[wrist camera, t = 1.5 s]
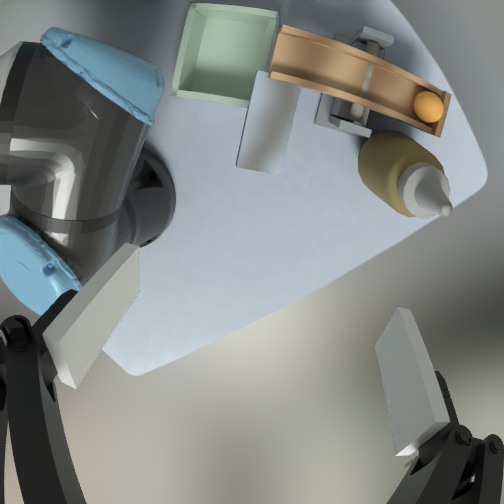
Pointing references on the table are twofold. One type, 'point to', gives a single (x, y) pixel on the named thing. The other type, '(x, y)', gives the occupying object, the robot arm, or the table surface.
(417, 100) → the ball
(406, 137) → the squeeze bottle
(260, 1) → the table surface
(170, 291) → the table surface
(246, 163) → the lever
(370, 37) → the fulcrum
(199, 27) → the dish
